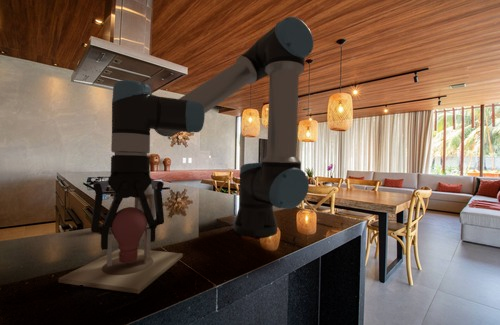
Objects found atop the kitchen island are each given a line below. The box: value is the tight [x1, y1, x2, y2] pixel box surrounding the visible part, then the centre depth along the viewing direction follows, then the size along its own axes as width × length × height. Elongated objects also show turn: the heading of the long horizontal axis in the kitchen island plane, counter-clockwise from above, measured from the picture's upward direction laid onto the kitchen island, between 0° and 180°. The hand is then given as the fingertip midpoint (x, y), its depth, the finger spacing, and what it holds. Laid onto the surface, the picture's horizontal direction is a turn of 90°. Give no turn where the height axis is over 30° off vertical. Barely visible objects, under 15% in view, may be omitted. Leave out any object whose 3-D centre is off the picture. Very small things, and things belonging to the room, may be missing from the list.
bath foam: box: [134, 169, 156, 227], centre depth 87 cm, size 7×7×20 cm
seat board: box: [58, 248, 184, 294], centre depth 53 cm, size 17×17×1 cm
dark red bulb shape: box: [110, 206, 147, 263], centre depth 53 cm, size 7×7×12 cm
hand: (128, 259), depth 53 cm, fingers closed on dark red bulb shape, 7 cm apart
